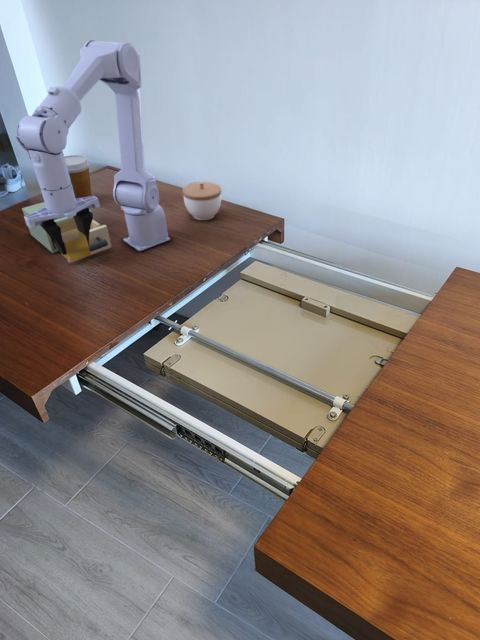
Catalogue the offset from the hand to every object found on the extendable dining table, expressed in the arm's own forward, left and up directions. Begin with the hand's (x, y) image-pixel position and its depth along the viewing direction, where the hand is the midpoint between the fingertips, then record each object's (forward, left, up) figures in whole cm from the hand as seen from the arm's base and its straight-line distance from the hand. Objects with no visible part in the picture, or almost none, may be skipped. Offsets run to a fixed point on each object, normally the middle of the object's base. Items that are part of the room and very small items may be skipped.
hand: (74, 248), depth 99 cm
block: (0, 0, -1) cm, 1 cm away
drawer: (-8, -16, -9) cm, 21 cm away
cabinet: (-8, -28, -10) cm, 31 cm away
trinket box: (-43, -13, -11) cm, 46 cm away
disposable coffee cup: (-22, -46, -11) cm, 52 cm away
